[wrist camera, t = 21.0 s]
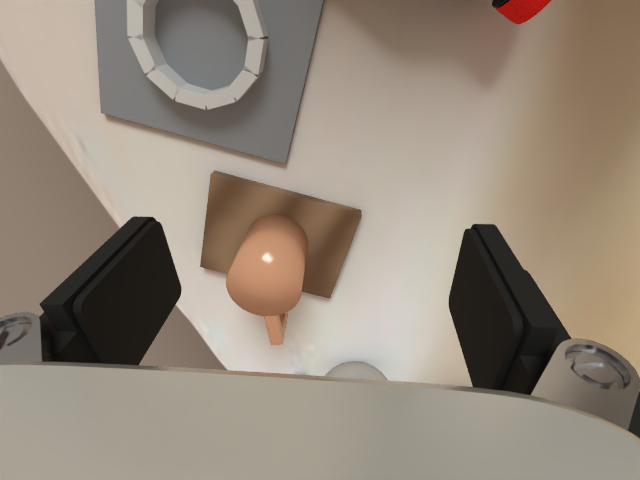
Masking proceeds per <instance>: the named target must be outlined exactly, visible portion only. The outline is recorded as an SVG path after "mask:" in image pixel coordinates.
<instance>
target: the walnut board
mask: <svg viewBox="0 0 640 480" xmlns="http://www.w3.org/2000/svg"><path fill="white" fill-rule="evenodd" d="M266 215H282V216H286V217H289V218H291V219H293V220H294V221H296V222H297V223H298V224H299V225H300V226H301V227H302V228H303V229H304V231H305V233H306V235H307V238H308V251H307V258H306V264H305V271H304V278H303V285H302V291H301V292H306V293H310V294H314V295H318V296H322V297H326V298H330V297H331V294H332V292H333V289H334V287H335V284H336V281H337V279H338V276H339V273H340V271H341V268H342V266H343V263H344V260H345V258H346V255H347V253H348V250H349V247H350V245H351V242H352V240H353V237H354V234H355V232H356V229H357V226H358V224H359V221H360V219H361V216H362V214H361V210H358V209H354V208H350V207H347V206H343V205H339V204H336V203H332V202H328V201H325V200H321V199H317V198H313V197H310V196H306V195H302V194H299V193H295V192H291V191H288V190H284V189H280V188H277V187H273V186H269V185H266V184H262V183H258V182H254V181H251V180H247V179H243V178H240V177H236V176H232V175H229V174H225V173H221V172H218V171H214V172H213V173H212V174H211V178H210V186H209V195H208V204H207V213H206V221H205V230H204V239H203V247H202V256H201V265H200V267H203V268H207V269H211V270H215V271H219V272H223V273H227V274H228V273H229V271H230V268H231V266H232V264H233V262H234V260H235V257H236V255H237V253H238V251H239V248H240V246H241V244H242V242H243V239H244V237H245V235H246V233H247V230H248V228H249V227H250V225H251V224H252V223H253V222H254V221H255V220H257V219H258V218H260V217H263V216H266Z"/></svg>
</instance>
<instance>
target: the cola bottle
mask: <svg viewBox="0 0 640 480" xmlns="http://www.w3.org/2000/svg"><path fill="white" fill-rule="evenodd" d="M550 1H551V0H493V2H492V6H493V7H495V8H496V9H497V10H498V11H499V12H500V13H501V14H503V15H504V16H505V17H506V18H508V19H509V20H510V21H512V22H514V23H516V24H521V23H523V22H526V21H527V20H529V19H531V18H532V17H533V16H535V15H536V14H537V13H538V12H540V11H541V10H542V9H543V8H544V7H545V6H546V5H547V4H548V3H549V2H550Z"/></svg>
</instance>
